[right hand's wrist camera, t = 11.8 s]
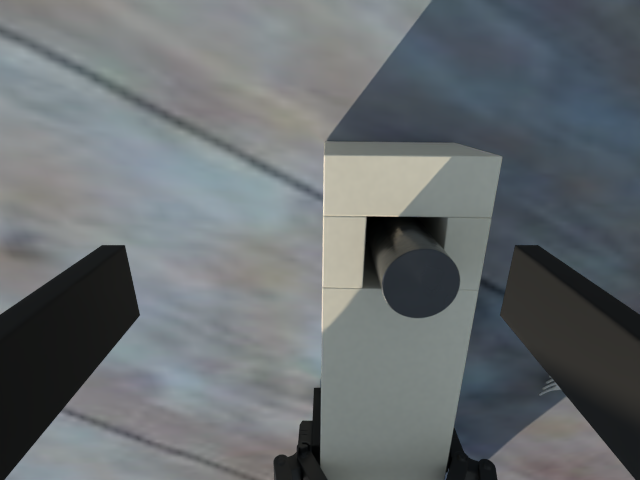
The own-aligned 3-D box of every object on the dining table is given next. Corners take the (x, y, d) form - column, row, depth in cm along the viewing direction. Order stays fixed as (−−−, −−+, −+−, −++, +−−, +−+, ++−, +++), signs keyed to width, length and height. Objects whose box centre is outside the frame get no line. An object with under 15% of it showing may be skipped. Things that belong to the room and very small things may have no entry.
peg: (362, 193, 29) (384, 248, 18) (412, 193, 29) (465, 249, 18) (360, 239, 31) (379, 318, 19) (407, 240, 30) (454, 319, 19)
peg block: (324, 141, 28) (323, 154, 20) (455, 142, 28) (503, 156, 20) (321, 434, 38) (319, 514, 31) (415, 436, 38) (437, 517, 31)
